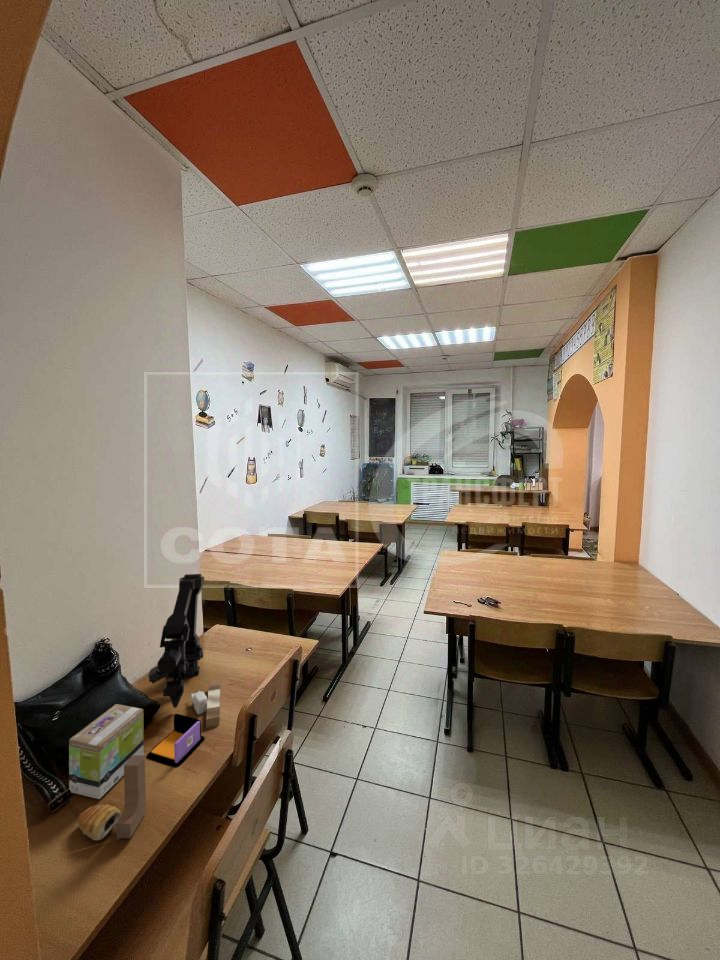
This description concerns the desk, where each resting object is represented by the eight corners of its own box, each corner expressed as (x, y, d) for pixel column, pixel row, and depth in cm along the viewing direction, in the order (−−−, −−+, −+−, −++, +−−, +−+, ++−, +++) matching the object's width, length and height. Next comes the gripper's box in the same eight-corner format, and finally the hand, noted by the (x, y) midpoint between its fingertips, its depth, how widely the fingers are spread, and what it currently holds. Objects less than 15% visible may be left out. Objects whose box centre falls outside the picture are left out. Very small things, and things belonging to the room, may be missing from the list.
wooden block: (133, 811, 94) (131, 754, 93) (146, 811, 94) (145, 754, 93) (116, 838, 87) (114, 777, 86) (130, 838, 87) (128, 777, 86)
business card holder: (206, 738, 118) (206, 718, 118) (177, 769, 107) (177, 746, 106) (175, 730, 122) (175, 709, 121) (144, 758, 110) (143, 736, 110)
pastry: (68, 832, 88) (67, 817, 88) (96, 805, 95) (95, 791, 94) (99, 844, 86) (98, 829, 85) (125, 816, 92) (124, 802, 92)
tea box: (100, 801, 97) (99, 746, 96) (68, 793, 99) (66, 739, 98) (145, 755, 111) (144, 707, 110) (116, 749, 113) (114, 702, 112)
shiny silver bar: (209, 691, 141) (208, 682, 141) (220, 689, 143) (220, 680, 142) (206, 728, 122) (206, 718, 122) (219, 725, 124) (219, 716, 124)
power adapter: (188, 701, 135) (187, 687, 135) (200, 696, 138) (200, 683, 138) (196, 716, 128) (196, 702, 127) (209, 711, 130) (209, 697, 130)
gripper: (155, 647, 139) (155, 687, 140) (145, 675, 121) (146, 721, 122) (188, 642, 142) (188, 682, 144) (183, 669, 125) (183, 714, 126)
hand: (176, 698), depth 134 cm, fingers open, 9 cm apart
